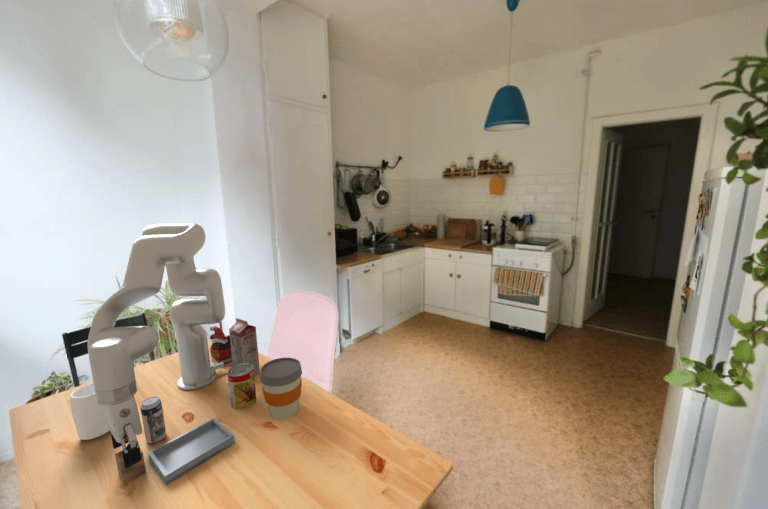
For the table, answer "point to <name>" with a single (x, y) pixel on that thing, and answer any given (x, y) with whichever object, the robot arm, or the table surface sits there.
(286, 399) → the reusable coffee cup
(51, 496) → the table surface
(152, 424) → the beer can
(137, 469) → the block
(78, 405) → the cup
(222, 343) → the christmas cupcake figurine
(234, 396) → the canned food
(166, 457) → the tray
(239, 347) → the juice carton
